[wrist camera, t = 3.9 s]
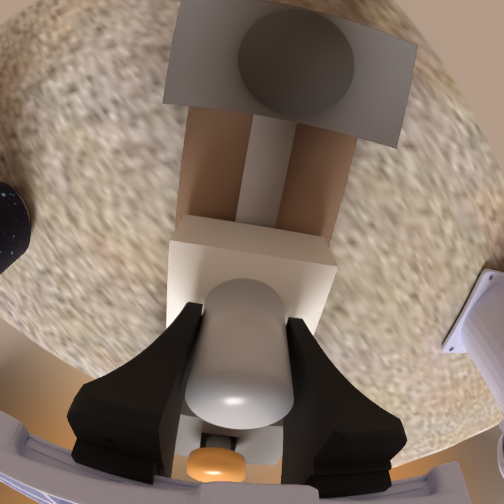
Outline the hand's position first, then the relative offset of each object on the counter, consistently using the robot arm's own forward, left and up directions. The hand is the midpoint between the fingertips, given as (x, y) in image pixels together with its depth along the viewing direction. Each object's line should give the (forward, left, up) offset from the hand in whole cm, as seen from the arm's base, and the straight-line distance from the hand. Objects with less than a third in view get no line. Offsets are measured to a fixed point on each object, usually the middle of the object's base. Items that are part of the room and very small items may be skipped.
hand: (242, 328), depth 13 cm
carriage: (0, 0, -4) cm, 4 cm away
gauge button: (0, +10, 0) cm, 10 cm away
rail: (0, 0, -6) cm, 6 cm away
